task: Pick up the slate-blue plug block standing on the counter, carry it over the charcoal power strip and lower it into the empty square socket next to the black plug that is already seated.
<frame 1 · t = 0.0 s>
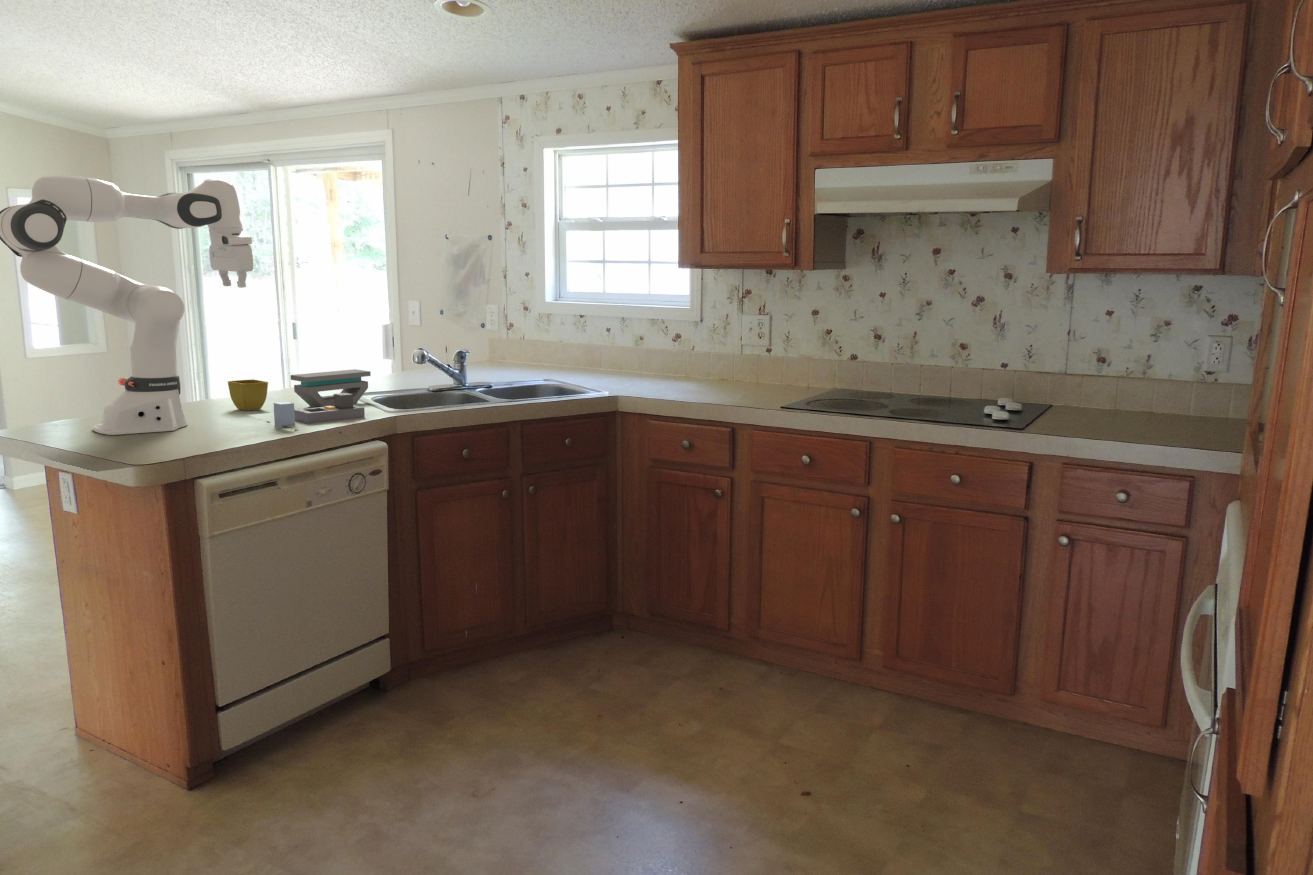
hand: (234, 286, 258), 39 cm above the worktop, tool pointing down, fingers open, 8 cm apart
flower pot: (249, 410, 281), on the worktop
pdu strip: (330, 421, 265), on the worktop
plug: (284, 427, 254), on the worktop
twin plug: (344, 417, 268), point 1 cm above the worktop, touching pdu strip
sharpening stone: (332, 406, 294), on the worktop
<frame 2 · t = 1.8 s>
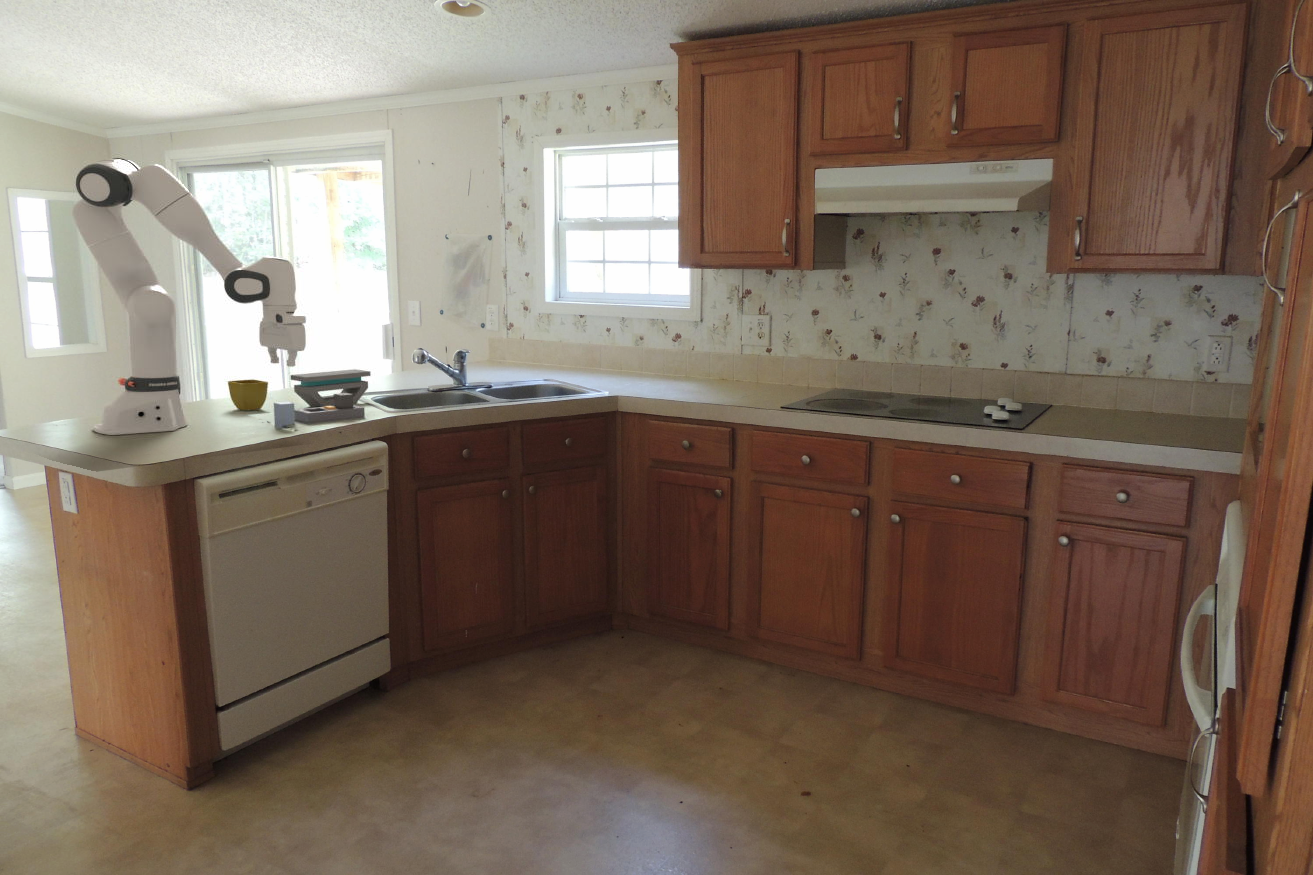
hand: (283, 364, 251), 18 cm above the worktop, tool pointing down, fingers open, 8 cm apart
nothing on the worktop moved.
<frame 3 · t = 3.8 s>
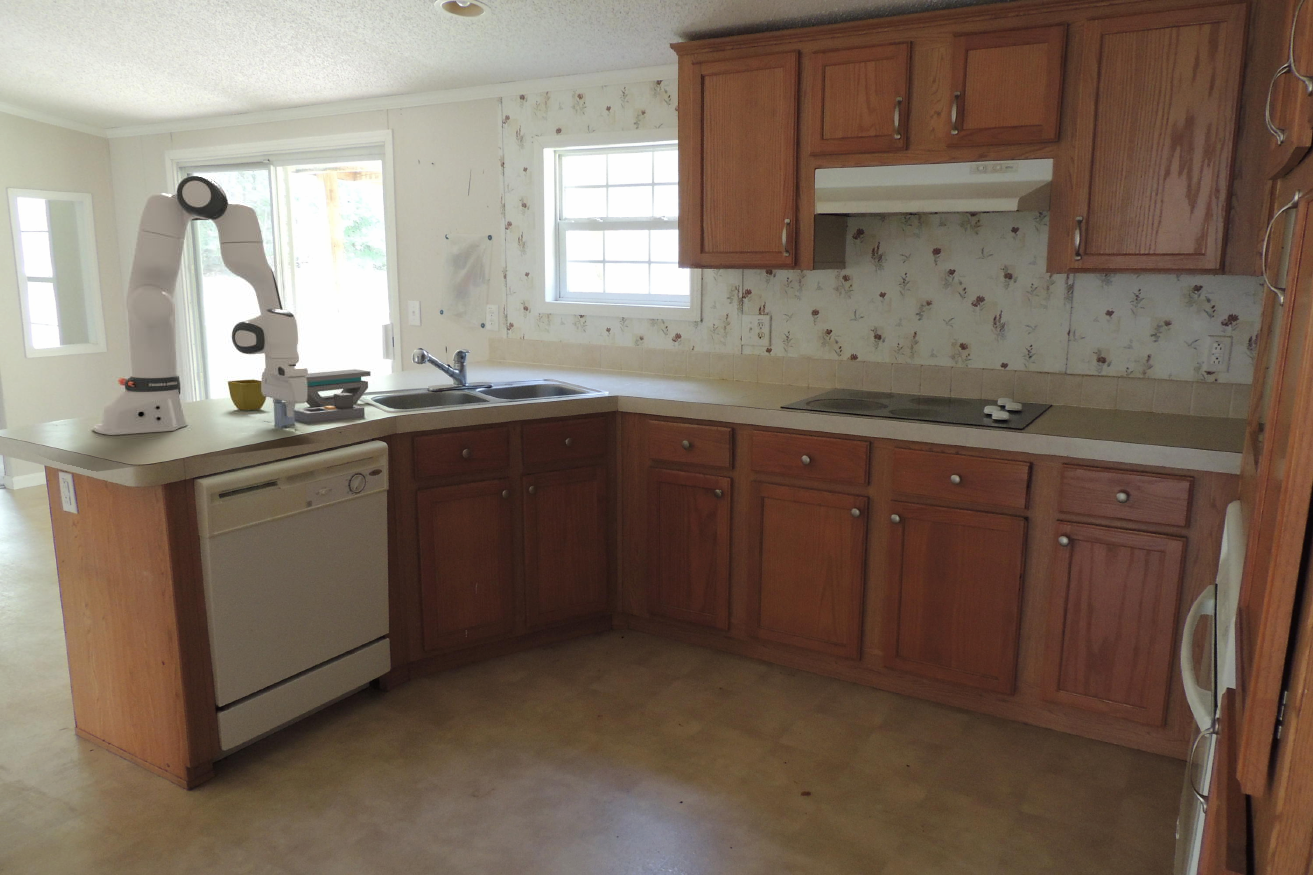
hand: (284, 415, 254), 3 cm above the worktop, tool pointing down, fingers closed on plug, 4 cm apart
plug: (284, 427, 254), on the worktop, touching gripper
everything else where it was.
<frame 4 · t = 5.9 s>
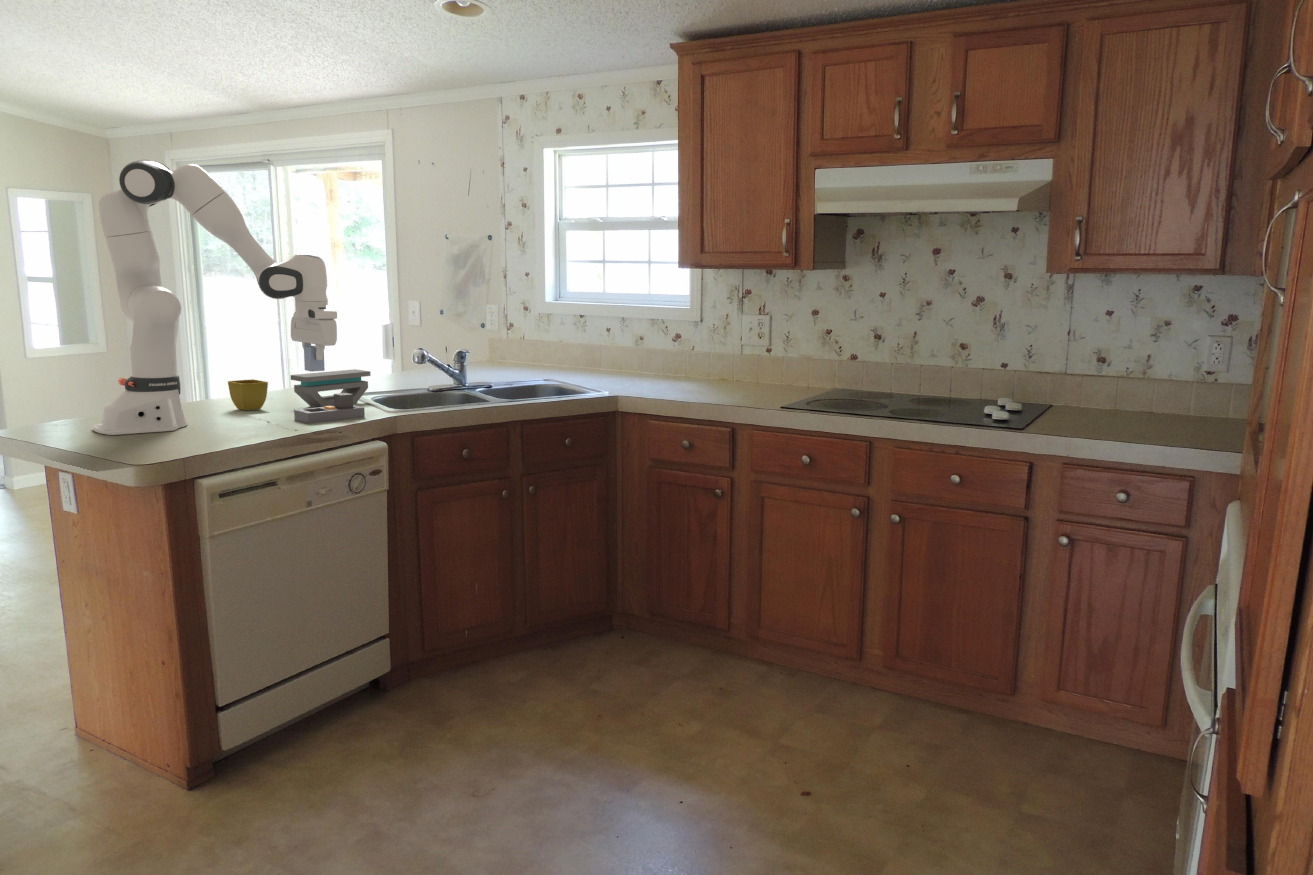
hand: (313, 359, 258), 19 cm above the worktop, tool pointing down, fingers closed on plug, 4 cm apart
plug: (314, 370, 259), point 16 cm above the worktop, touching gripper
everything else where it was.
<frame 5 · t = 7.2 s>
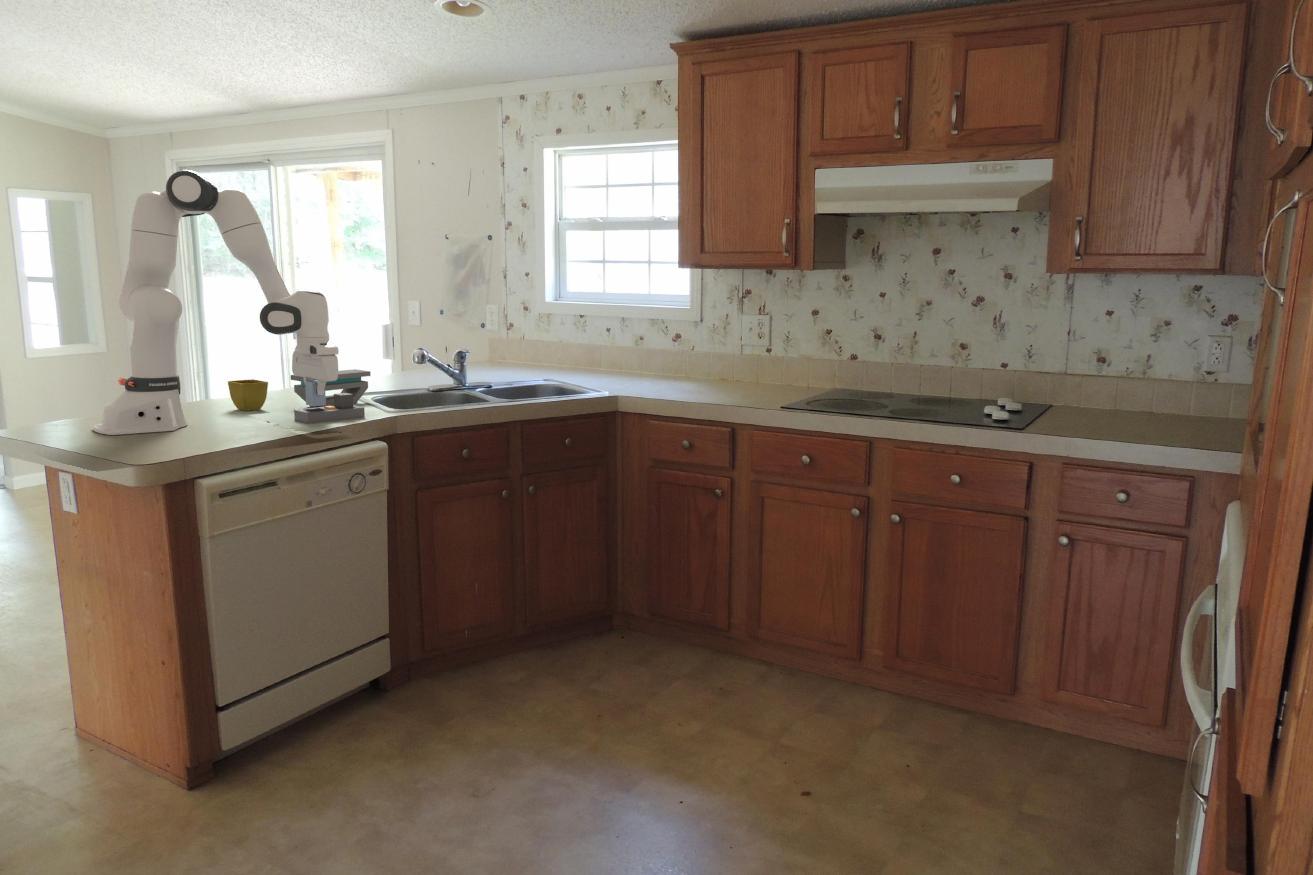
hand: (315, 393, 260), 9 cm above the worktop, tool pointing down, fingers closed on plug, 4 cm apart
plug: (315, 404, 261), point 6 cm above the worktop, touching gripper
everything else where it was.
when the fingers open (5 cm above the worktop, at t = 8.2 s): plug stays where it is, resting on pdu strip.
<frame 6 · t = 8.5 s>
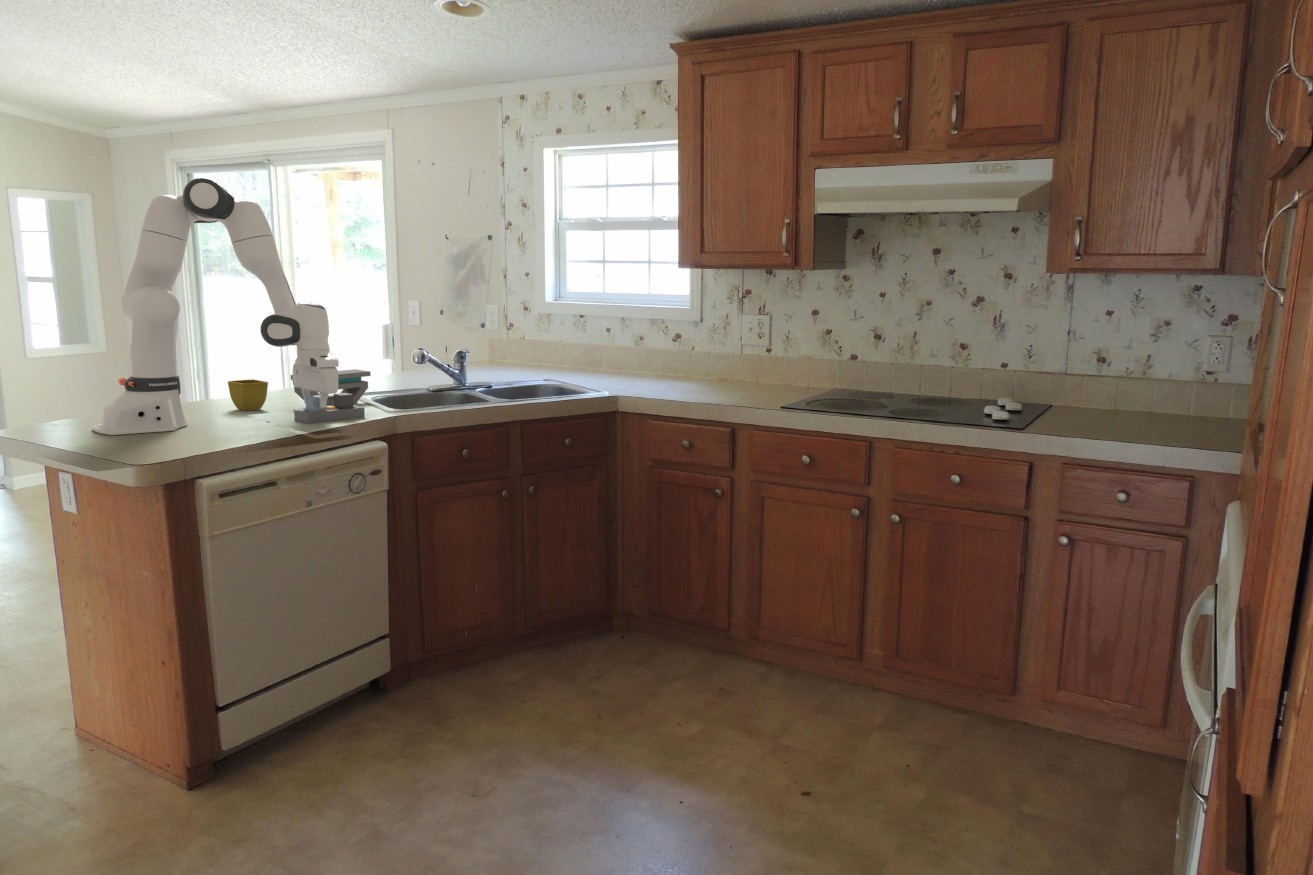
hand: (315, 405, 260), 5 cm above the worktop, tool pointing down, fingers open, 7 cm apart
plug: (316, 420, 261), point 1 cm above the worktop, touching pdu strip
everything else where it was.
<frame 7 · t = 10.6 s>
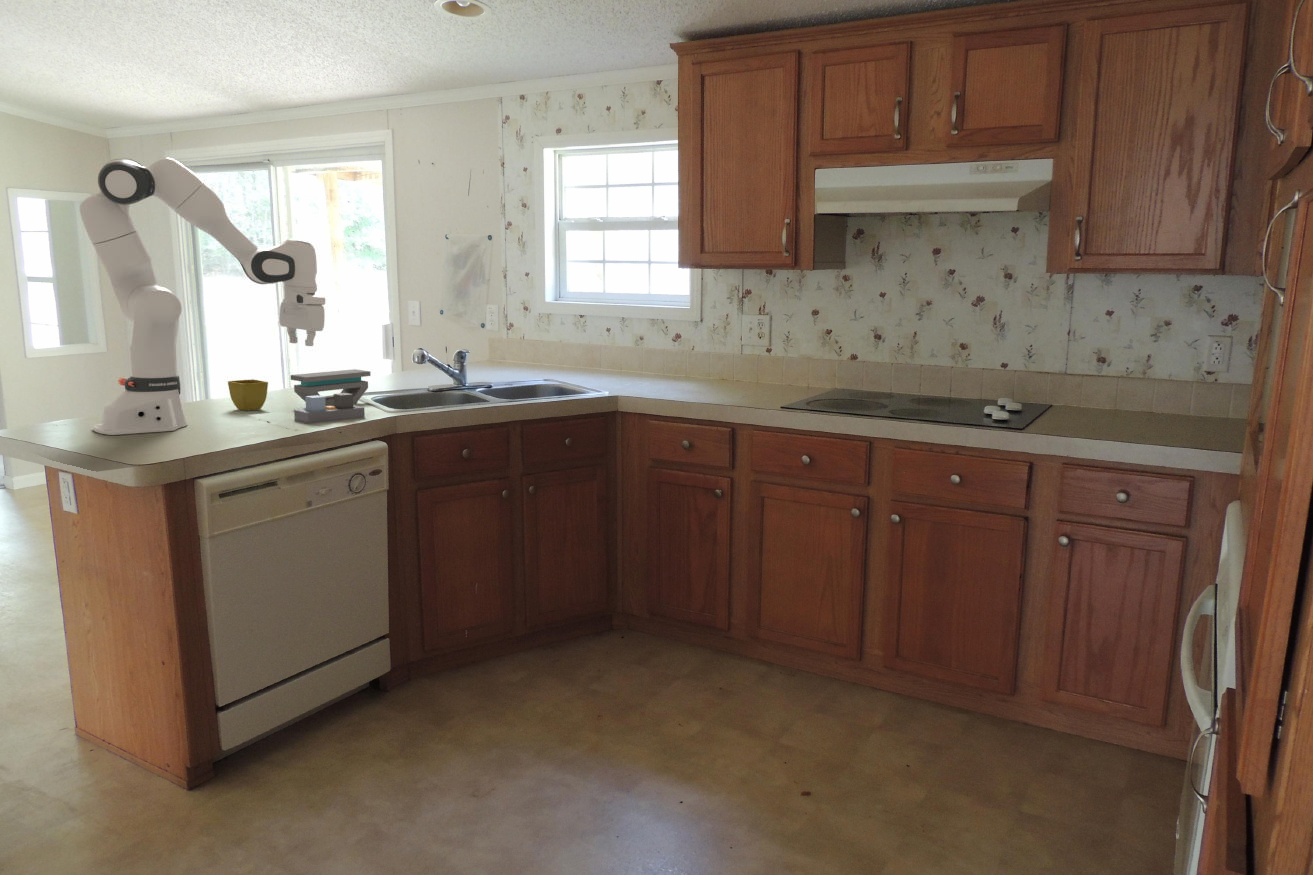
hand: (301, 344, 260), 23 cm above the worktop, tool pointing down, fingers open, 8 cm apart
nothing on the worktop moved.
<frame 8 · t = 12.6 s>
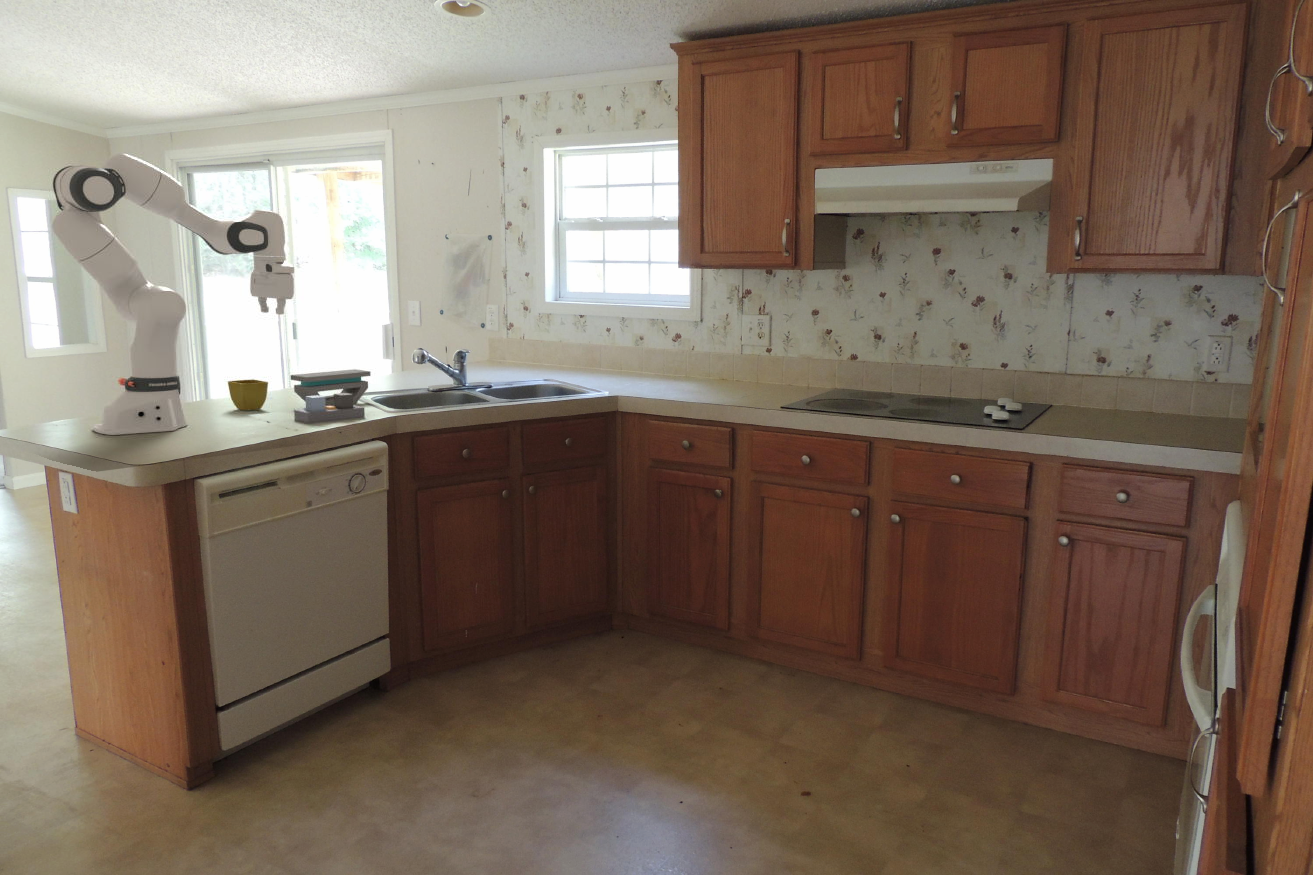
hand: (272, 313, 266), 31 cm above the worktop, tool pointing down, fingers open, 8 cm apart
nothing on the worktop moved.
at the end: plug 0.1 cm from the target spot on the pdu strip, point 1.0 cm above the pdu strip's base; plug tilted 0°; the gripper is holding nothing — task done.
